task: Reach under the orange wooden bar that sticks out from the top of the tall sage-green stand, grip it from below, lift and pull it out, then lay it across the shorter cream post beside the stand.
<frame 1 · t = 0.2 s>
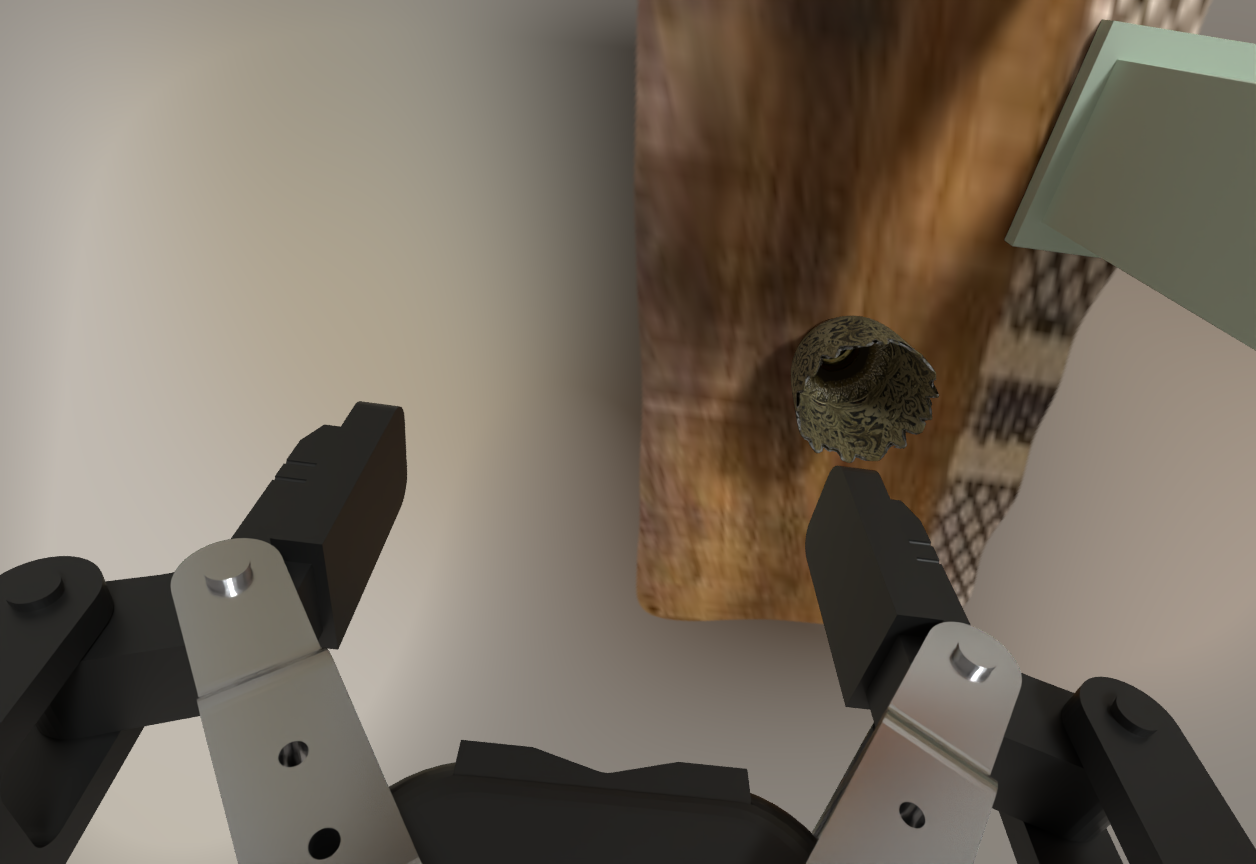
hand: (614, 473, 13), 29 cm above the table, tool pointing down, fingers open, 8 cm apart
cup: (830, 339, 43), on the table
stand: (1206, 162, 37), on the table
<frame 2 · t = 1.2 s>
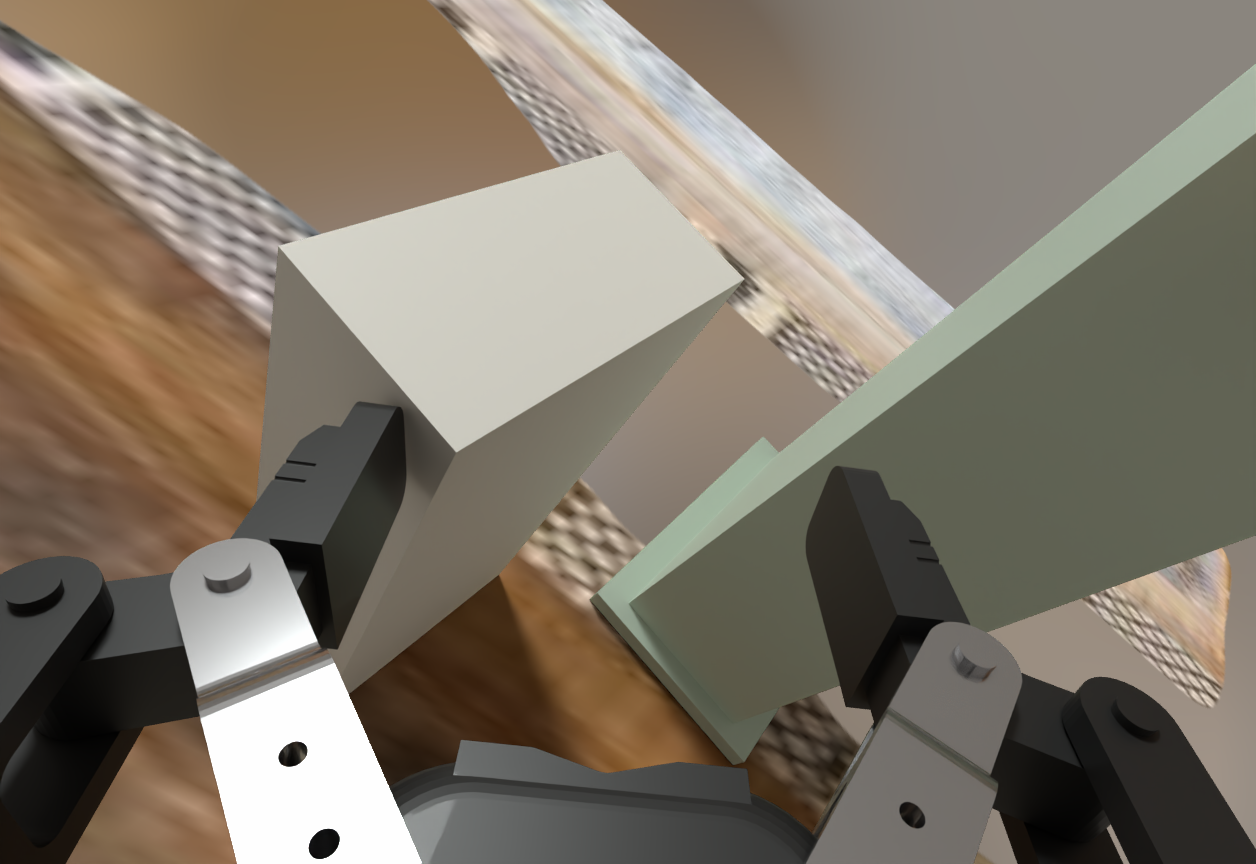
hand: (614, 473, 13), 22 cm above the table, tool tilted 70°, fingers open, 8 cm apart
post: (384, 596, 32), on the table
stand: (745, 578, 42), on the table
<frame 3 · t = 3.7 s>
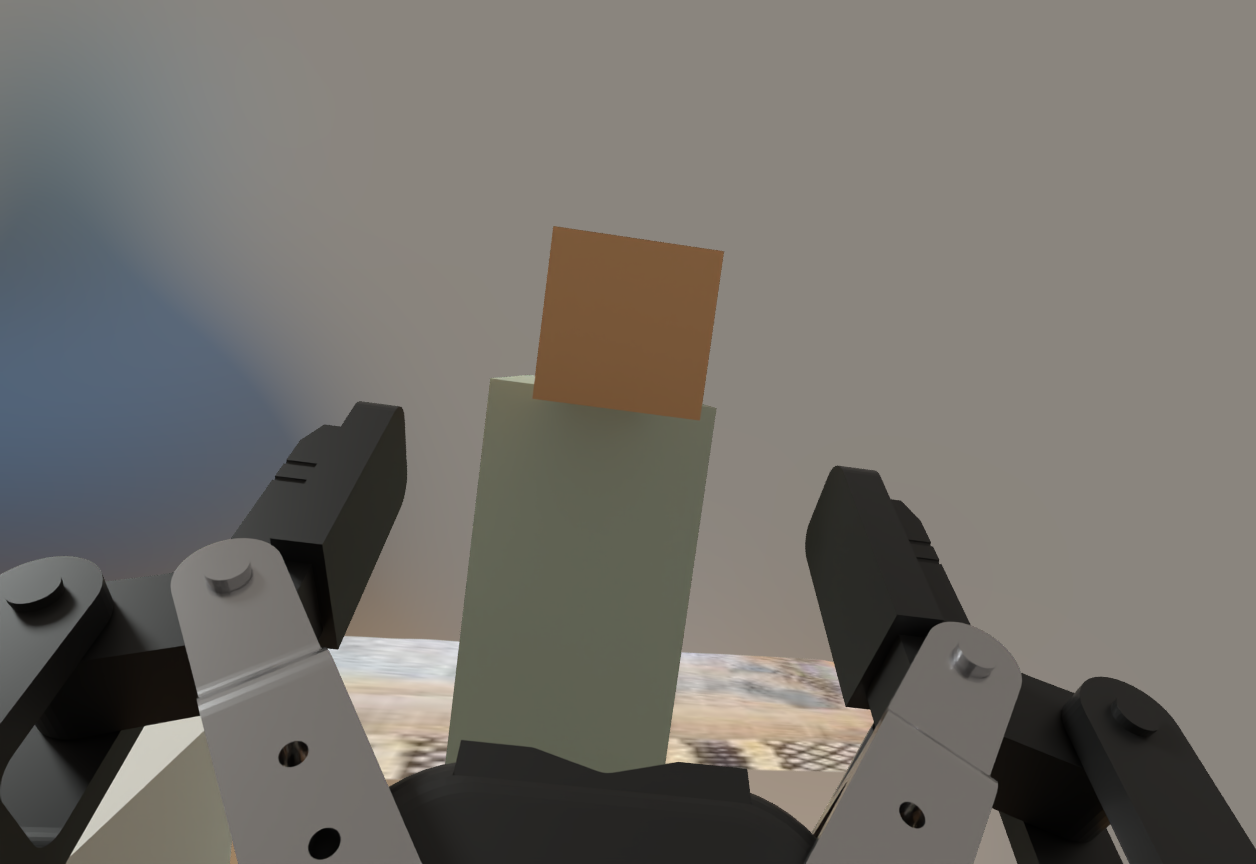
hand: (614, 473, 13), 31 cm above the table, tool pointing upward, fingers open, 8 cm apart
bar: (602, 390, 27), point 32 cm above the table, touching stand
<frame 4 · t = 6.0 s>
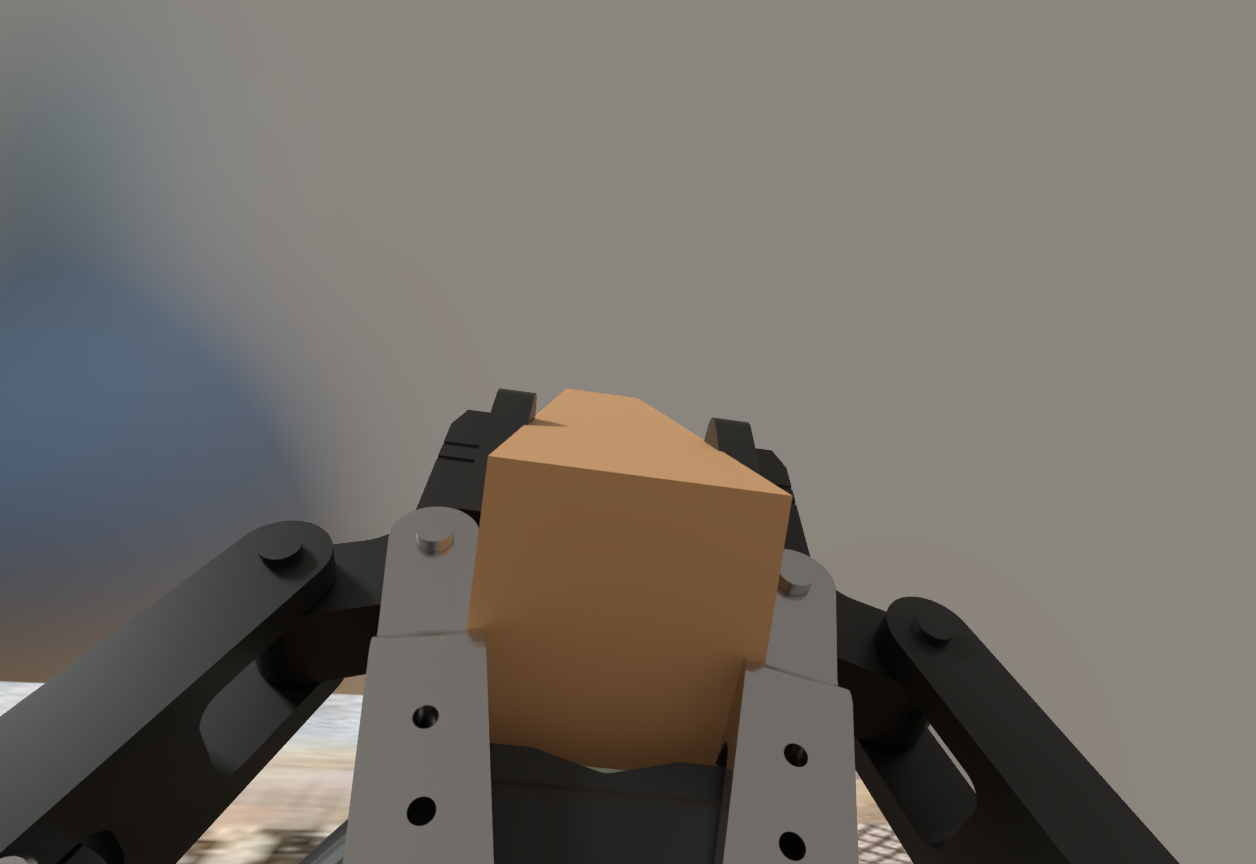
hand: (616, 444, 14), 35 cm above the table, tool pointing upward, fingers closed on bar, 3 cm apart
bar: (594, 522, 21), point 32 cm above the table, touching gripper, stand
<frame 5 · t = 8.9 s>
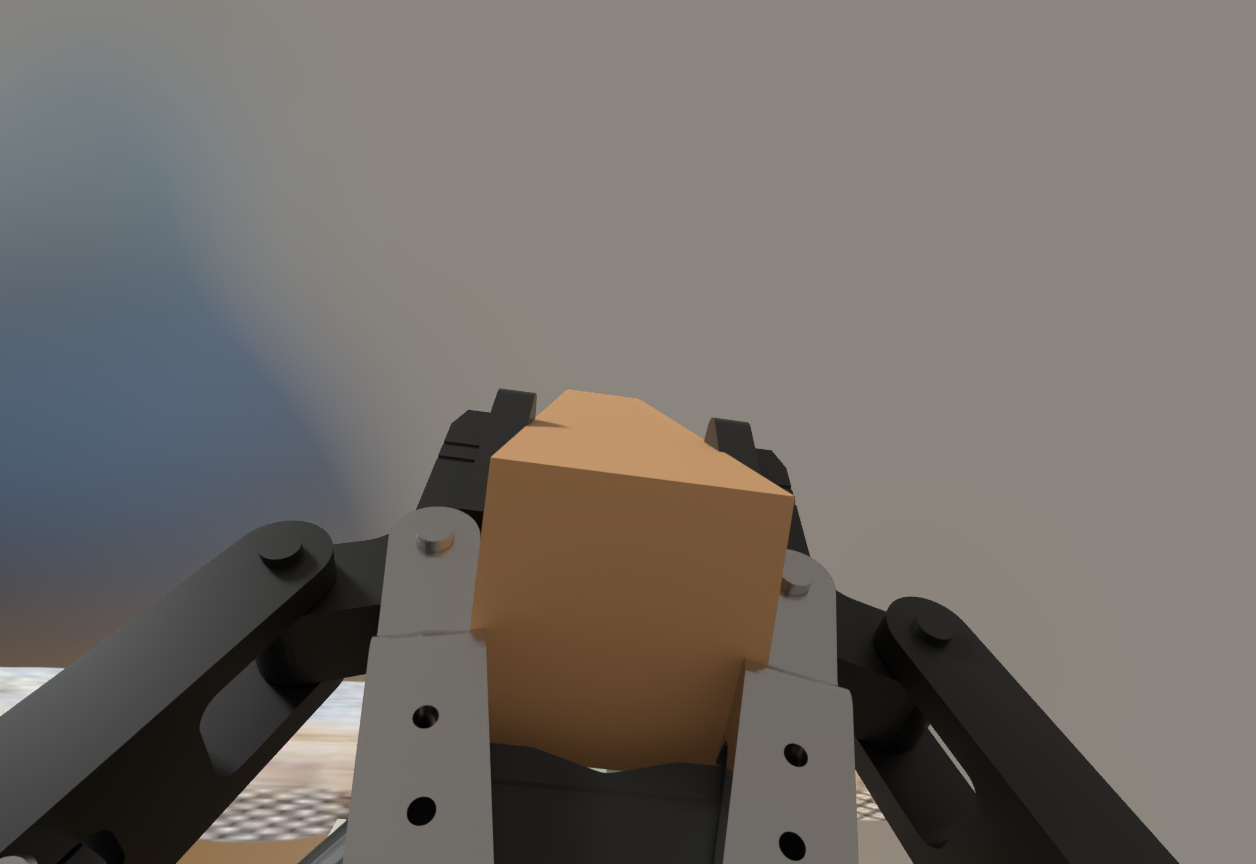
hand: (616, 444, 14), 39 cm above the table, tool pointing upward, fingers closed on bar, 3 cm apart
bar: (595, 523, 21), point 36 cm above the table, touching gripper
when the fingers open (26 cm above the table, at t = 12.3 s): bar stays where it is, resting on post.
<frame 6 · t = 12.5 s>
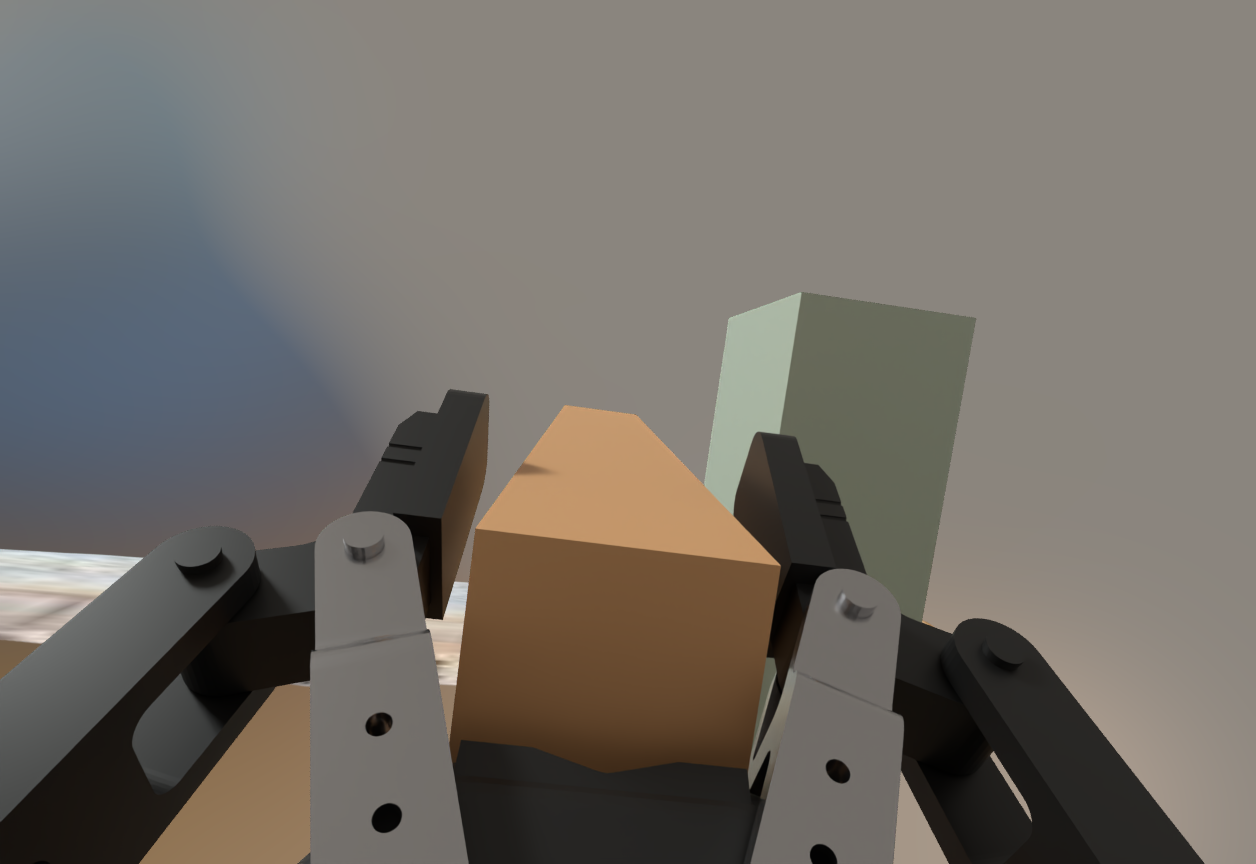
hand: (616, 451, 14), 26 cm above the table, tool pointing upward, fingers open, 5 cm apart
bar: (590, 549, 21), point 22 cm above the table, touching post
stand: (741, 855, 41), on the table
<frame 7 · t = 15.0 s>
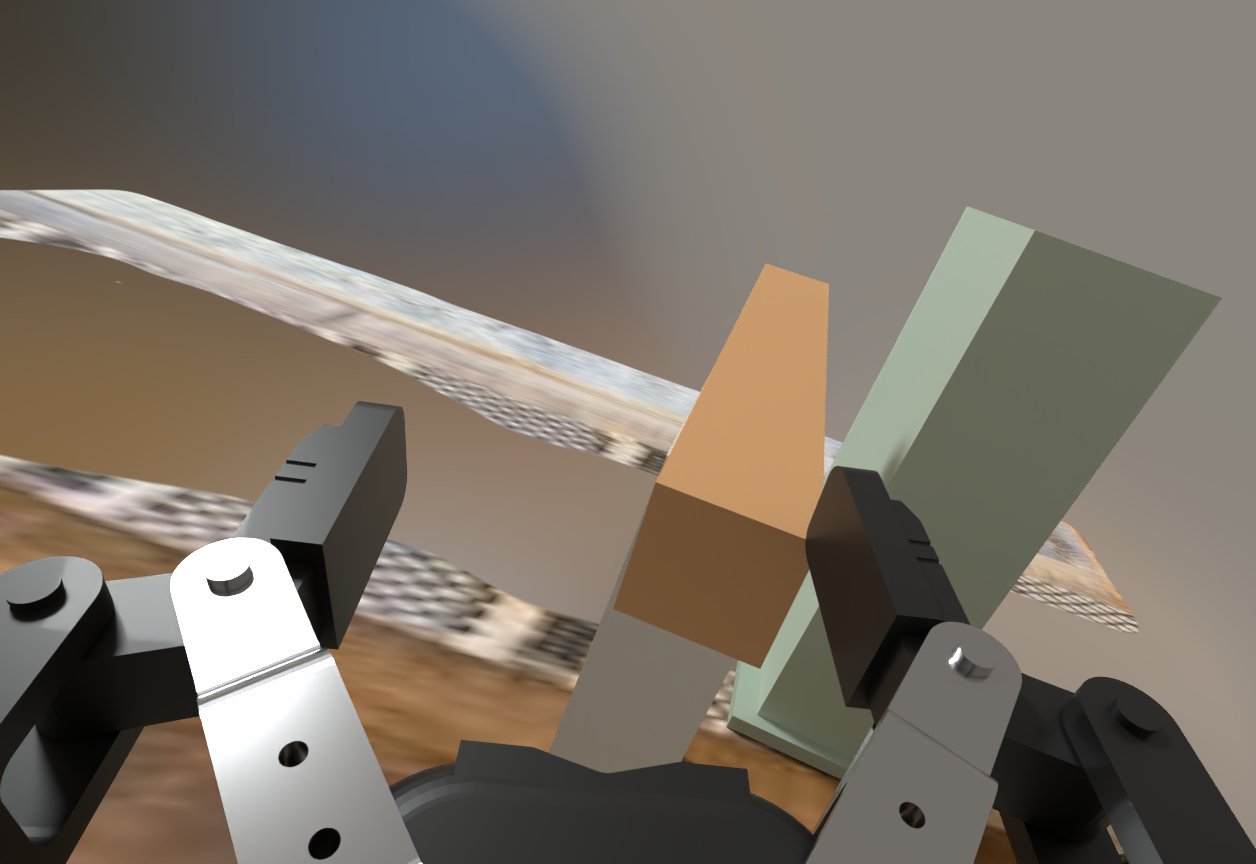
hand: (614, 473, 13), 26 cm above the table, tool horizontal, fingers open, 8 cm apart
post: (591, 785, 36), on the table
bar: (748, 421, 27), point 22 cm above the table, touching gripper
stand: (812, 667, 50), on the table
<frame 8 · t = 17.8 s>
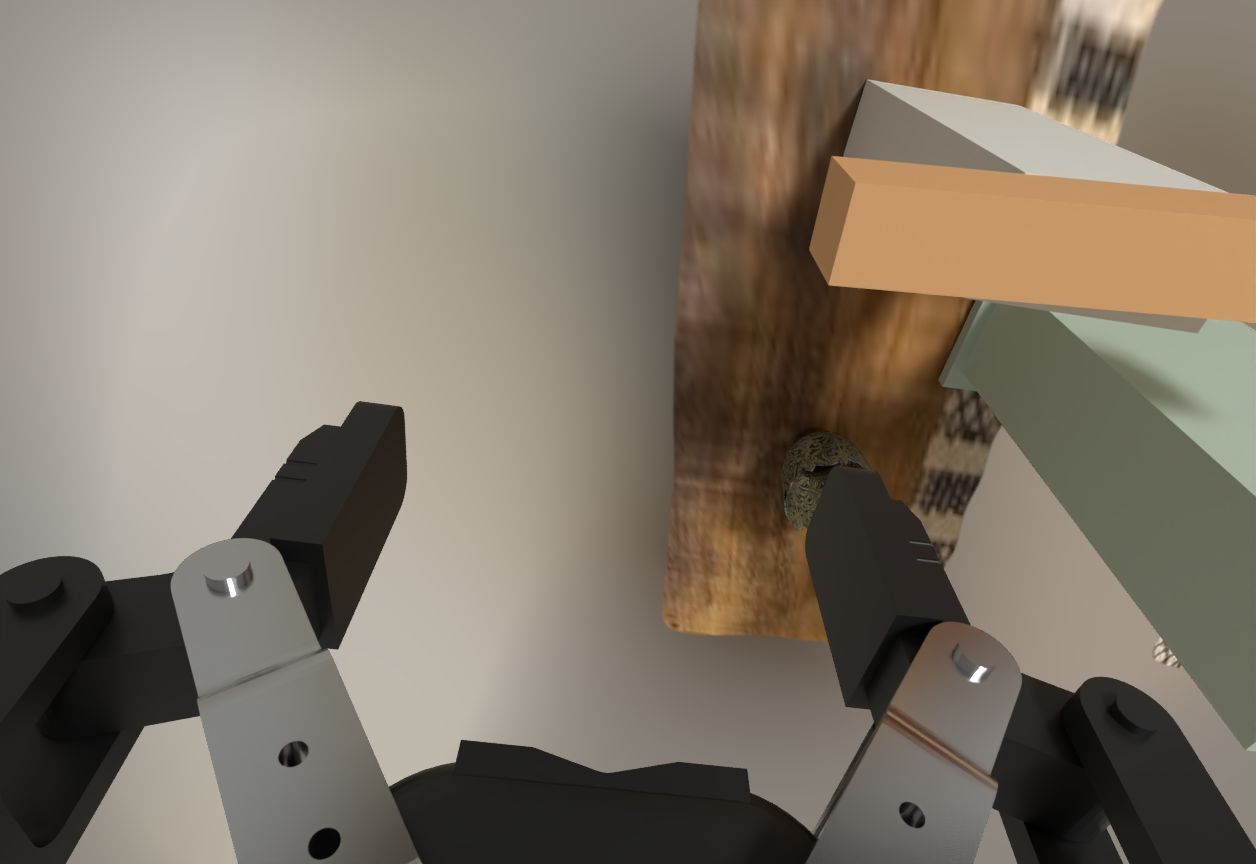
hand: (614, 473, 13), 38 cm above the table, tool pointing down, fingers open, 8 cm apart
post: (927, 134, 45), on the table
bar: (1156, 235, 26), point 22 cm above the table, touching post
cup: (812, 440, 59), on the table
stand: (1079, 335, 53), on the table
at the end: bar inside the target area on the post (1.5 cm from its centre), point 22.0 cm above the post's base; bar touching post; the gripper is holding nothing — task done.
